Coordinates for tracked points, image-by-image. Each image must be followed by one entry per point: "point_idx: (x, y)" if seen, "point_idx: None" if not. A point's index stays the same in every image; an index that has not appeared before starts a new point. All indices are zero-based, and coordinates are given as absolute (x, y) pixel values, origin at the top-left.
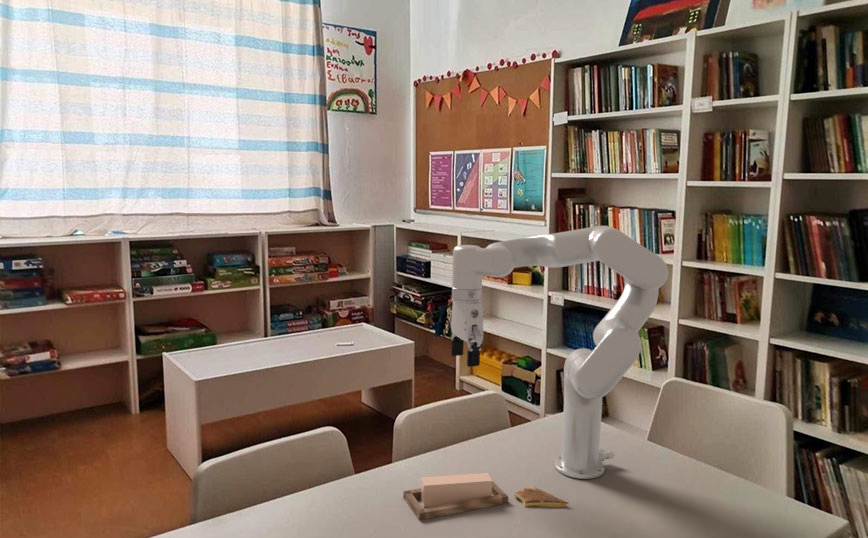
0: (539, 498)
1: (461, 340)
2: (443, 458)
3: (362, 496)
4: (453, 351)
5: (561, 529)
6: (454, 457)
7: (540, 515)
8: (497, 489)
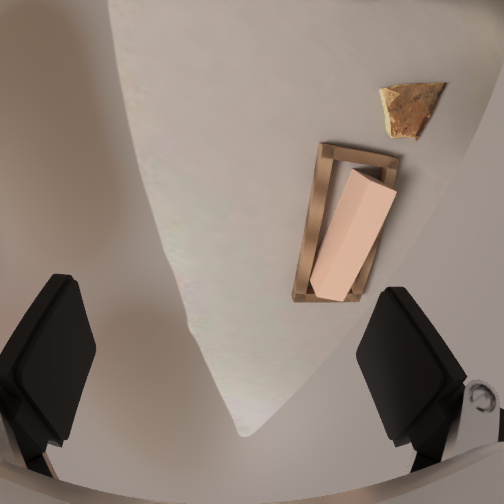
0: (421, 112)
1: (21, 395)
2: (178, 173)
3: (258, 338)
4: (87, 371)
5: (470, 140)
6: (183, 149)
7: (439, 137)
8: (373, 160)
